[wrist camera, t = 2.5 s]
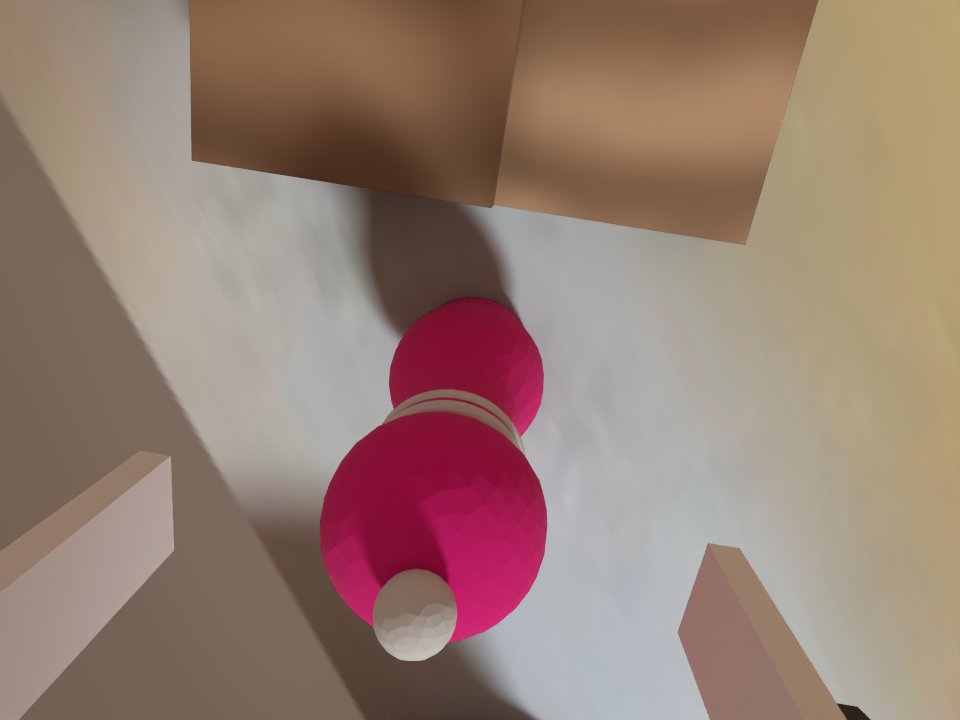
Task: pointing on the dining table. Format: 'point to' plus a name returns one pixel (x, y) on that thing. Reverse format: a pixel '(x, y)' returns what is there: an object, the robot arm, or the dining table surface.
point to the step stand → (507, 101)
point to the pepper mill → (443, 486)
